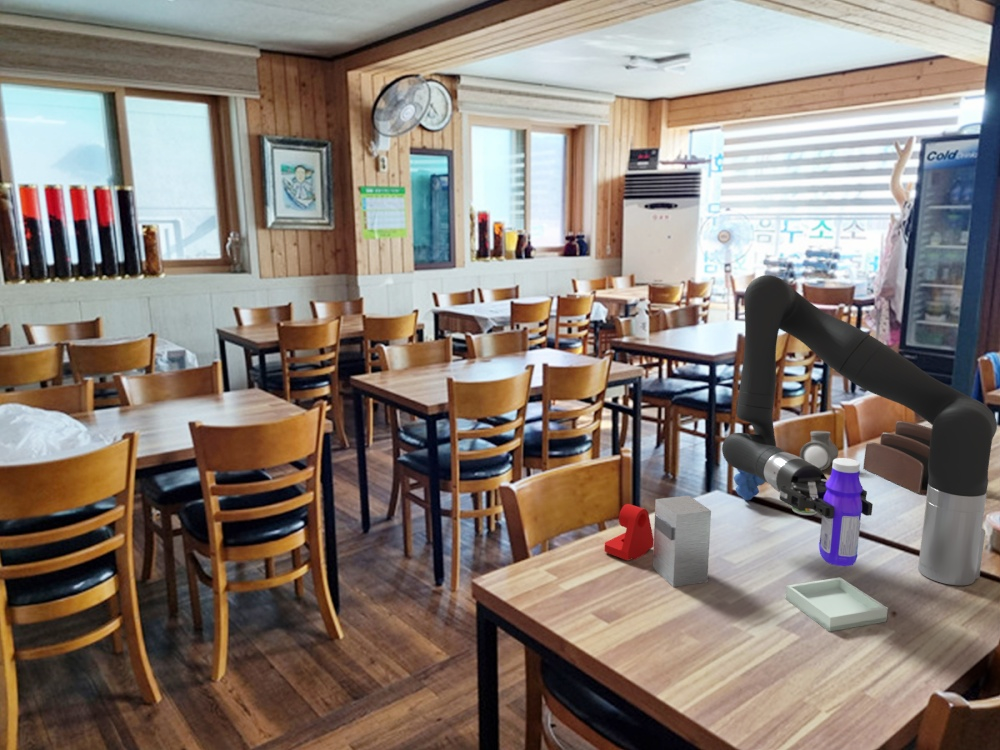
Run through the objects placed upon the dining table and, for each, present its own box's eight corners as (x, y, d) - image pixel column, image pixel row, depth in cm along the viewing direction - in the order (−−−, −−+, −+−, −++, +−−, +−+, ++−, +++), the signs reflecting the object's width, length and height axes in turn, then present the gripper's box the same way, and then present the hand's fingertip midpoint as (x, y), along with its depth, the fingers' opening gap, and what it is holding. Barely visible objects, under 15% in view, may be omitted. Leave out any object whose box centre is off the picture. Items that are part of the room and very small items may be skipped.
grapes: (752, 511, 169) (756, 461, 167) (725, 504, 174) (728, 455, 172) (775, 498, 178) (778, 450, 175) (749, 491, 182) (752, 444, 180)
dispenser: (687, 562, 144) (691, 495, 141) (709, 581, 137) (713, 510, 134) (651, 568, 142) (653, 499, 139) (671, 587, 134) (674, 515, 132)
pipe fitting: (829, 473, 193) (830, 435, 193) (798, 469, 198) (799, 432, 198) (843, 467, 202) (845, 430, 202) (813, 464, 207) (814, 427, 207)
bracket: (628, 540, 155) (629, 495, 153) (653, 549, 150) (654, 503, 148) (602, 553, 149) (603, 507, 147) (627, 563, 144) (629, 515, 142)
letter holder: (893, 466, 200) (899, 416, 198) (953, 491, 182) (960, 436, 179) (862, 469, 198) (867, 419, 195) (919, 495, 179) (925, 439, 176)
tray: (838, 590, 133) (840, 577, 133) (886, 621, 122) (887, 607, 122) (785, 598, 130) (786, 585, 130) (829, 631, 120) (830, 617, 119)
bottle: (860, 570, 121) (871, 469, 117) (823, 567, 122) (833, 467, 118) (849, 551, 128) (859, 455, 124) (814, 548, 129) (823, 453, 125)
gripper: (759, 460, 135) (813, 493, 118) (830, 455, 137) (892, 487, 121) (756, 499, 136) (809, 536, 120) (827, 493, 139) (888, 529, 123)
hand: (851, 511), depth 121 cm, fingers closed on bottle, 6 cm apart
